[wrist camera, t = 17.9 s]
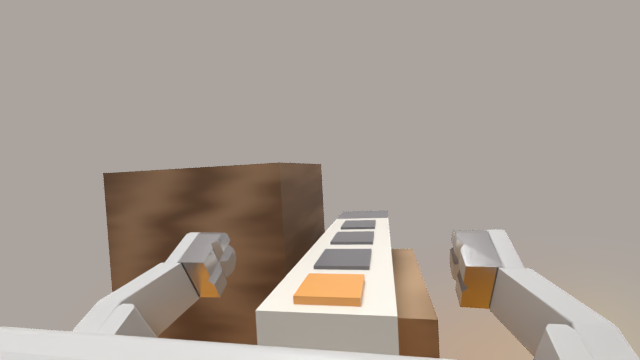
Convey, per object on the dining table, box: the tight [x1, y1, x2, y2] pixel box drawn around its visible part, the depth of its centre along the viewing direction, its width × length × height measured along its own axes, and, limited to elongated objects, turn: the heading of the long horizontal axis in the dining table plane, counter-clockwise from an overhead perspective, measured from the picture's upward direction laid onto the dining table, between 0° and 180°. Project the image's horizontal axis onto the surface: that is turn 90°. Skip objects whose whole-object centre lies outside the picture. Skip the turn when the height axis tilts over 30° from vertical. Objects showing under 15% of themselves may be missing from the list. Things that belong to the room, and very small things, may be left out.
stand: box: [103, 163, 439, 358], centre depth 24 cm, size 20×14×26 cm
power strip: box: [255, 211, 399, 355], centre depth 20 cm, size 4×24×4 cm, turn 168°
